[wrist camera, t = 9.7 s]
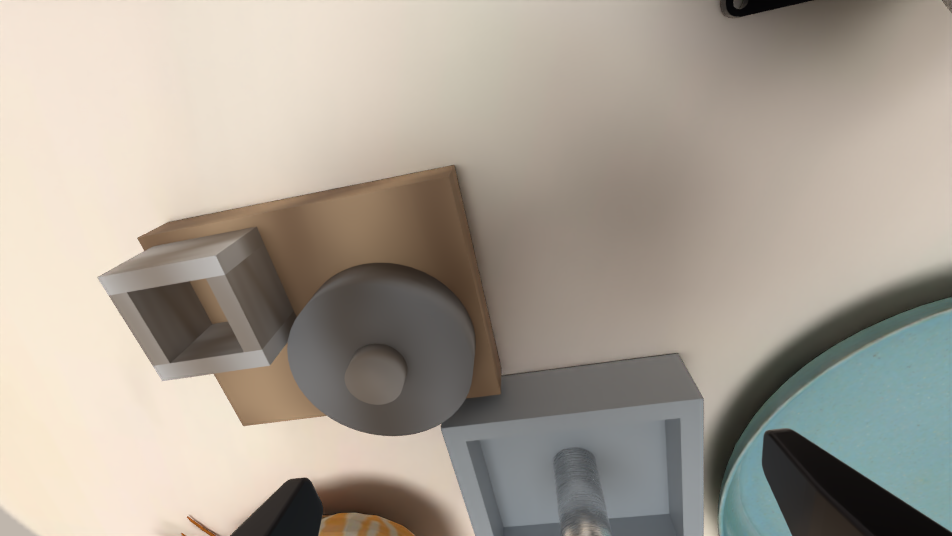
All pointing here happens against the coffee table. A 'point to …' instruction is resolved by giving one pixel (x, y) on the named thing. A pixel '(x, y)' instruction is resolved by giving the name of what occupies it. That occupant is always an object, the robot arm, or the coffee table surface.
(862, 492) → the robot arm
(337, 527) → the nautilus
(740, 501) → the teal round plate
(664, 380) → the tray
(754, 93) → the coffee table surface
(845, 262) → the coffee table surface
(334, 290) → the pulley block
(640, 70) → the coffee table surface
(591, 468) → the lock pin
